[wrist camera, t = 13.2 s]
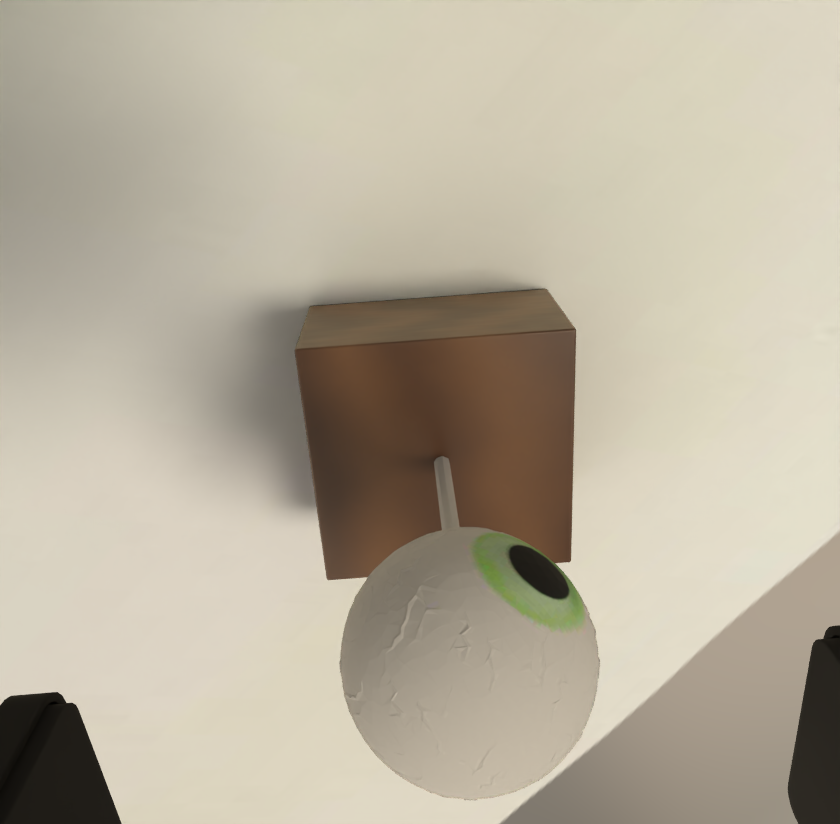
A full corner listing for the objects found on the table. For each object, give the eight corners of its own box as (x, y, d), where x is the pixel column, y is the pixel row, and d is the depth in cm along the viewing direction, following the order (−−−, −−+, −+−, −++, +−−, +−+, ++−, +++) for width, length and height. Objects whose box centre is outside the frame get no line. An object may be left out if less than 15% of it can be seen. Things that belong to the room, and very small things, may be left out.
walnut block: (547, 288, 35) (576, 328, 29) (546, 494, 39) (571, 562, 34) (309, 305, 35) (294, 349, 29) (335, 510, 39) (326, 581, 34)
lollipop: (559, 433, 31) (693, 716, 17) (470, 559, 34) (526, 894, 20) (409, 354, 29) (427, 598, 16) (326, 493, 32) (280, 809, 18)
